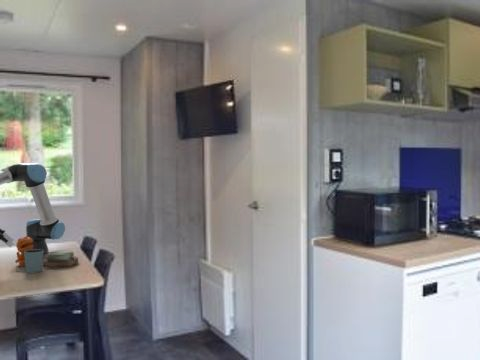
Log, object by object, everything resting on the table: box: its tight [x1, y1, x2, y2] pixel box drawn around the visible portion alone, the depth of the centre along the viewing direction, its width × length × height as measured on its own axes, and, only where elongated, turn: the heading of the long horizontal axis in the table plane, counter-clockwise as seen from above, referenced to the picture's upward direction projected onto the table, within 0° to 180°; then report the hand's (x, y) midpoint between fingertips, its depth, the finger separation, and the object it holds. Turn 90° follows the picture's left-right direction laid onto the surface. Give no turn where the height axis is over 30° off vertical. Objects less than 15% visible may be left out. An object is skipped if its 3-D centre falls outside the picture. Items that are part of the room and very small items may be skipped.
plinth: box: [42, 249, 79, 269], centre depth 274 cm, size 20×20×7 cm
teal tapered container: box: [24, 249, 44, 274], centre depth 257 cm, size 10×10×12 cm
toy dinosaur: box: [14, 235, 34, 267], centre depth 272 cm, size 11×11×18 cm
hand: (12, 243), depth 251 cm, fingers open, 13 cm apart
